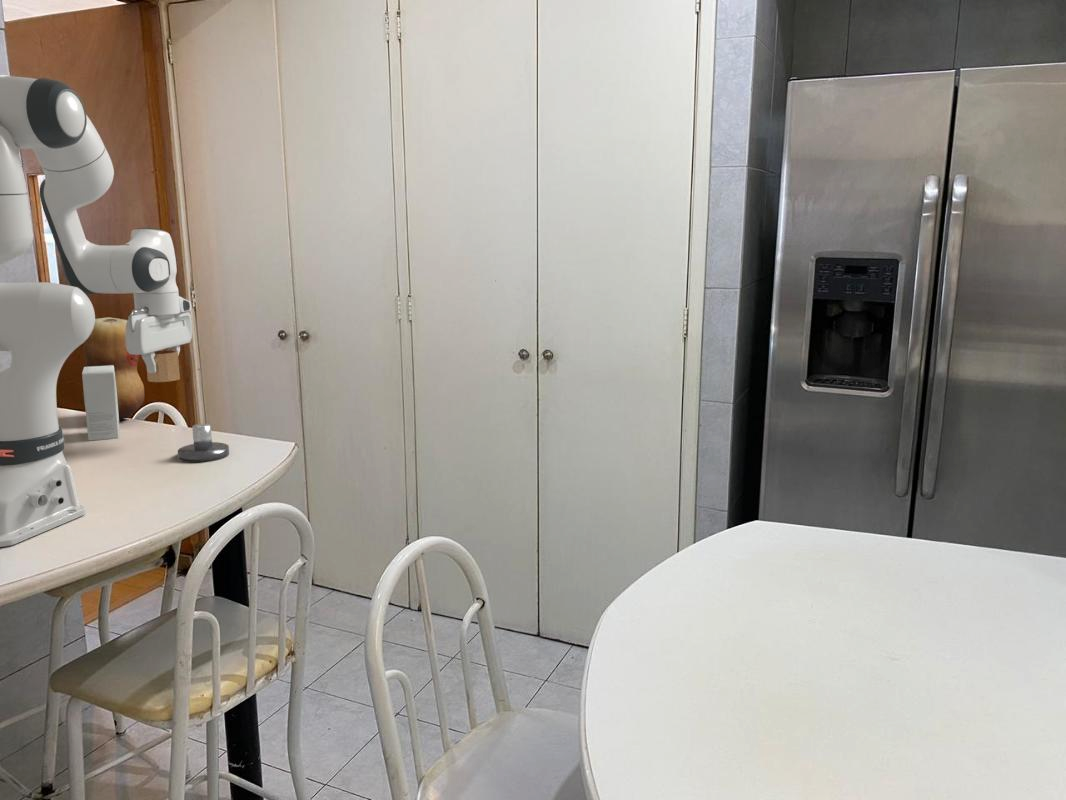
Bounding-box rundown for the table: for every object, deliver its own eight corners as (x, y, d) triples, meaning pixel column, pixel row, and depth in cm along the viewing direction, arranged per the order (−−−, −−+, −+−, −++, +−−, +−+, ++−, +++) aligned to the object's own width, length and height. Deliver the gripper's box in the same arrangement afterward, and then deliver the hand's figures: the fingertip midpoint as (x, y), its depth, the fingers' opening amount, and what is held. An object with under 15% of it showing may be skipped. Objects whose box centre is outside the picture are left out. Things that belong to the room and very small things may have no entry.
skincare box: (90, 432, 190) (82, 366, 187) (121, 429, 193) (114, 364, 189) (88, 441, 183) (80, 373, 179) (121, 438, 186) (113, 370, 182)
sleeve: (170, 382, 175) (167, 354, 174) (141, 381, 176) (139, 353, 175) (185, 377, 181) (183, 350, 180) (158, 376, 182) (155, 349, 181)
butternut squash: (128, 427, 195) (117, 322, 189) (74, 426, 196) (61, 321, 190) (157, 413, 209) (148, 315, 203) (106, 412, 209) (95, 314, 204)
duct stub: (215, 463, 168) (212, 432, 166) (168, 461, 169) (165, 431, 167) (237, 449, 178) (235, 420, 176) (193, 448, 179) (191, 419, 177)
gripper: (143, 310, 165) (149, 378, 168) (195, 301, 185) (200, 362, 188) (114, 310, 166) (120, 377, 168) (168, 301, 185) (174, 361, 188)
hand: (163, 369), depth 178 cm, fingers closed on sleeve, 6 cm apart
